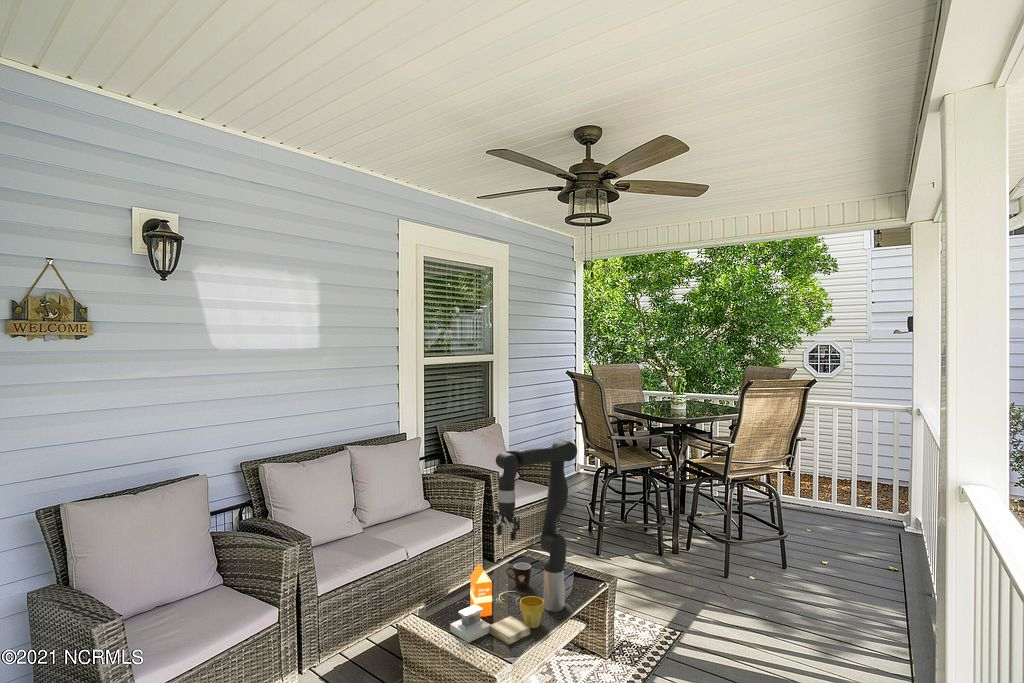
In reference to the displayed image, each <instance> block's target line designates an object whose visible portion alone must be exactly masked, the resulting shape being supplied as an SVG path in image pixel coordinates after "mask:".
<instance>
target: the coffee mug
mask: <svg viewBox="0 0 1024 683" xmlns="http://www.w3.org/2000/svg"><path fill="white" fill-rule="evenodd" d="M509 570H512V572H513V573H514V577H513V576H511V575H510V574H509V573H508V571H509ZM531 572H532V565H531V564H530V563H527V562H517V563H515V564H513V568H512V567H508V568H506V571H505V573H506V575H507V576H508V577H509V578H510V579H512V580H513V581H514V582H515V588H516V589H518V590H527V589H529V586H530V581H531V580H530V579H531Z"/></svg>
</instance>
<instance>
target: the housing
mask: <svg viewBox="0 0 1024 683" xmlns="http://www.w3.org/2000/svg"><path fill="white" fill-rule="evenodd" d="M480 612H483V608H481V607H480V606H478V605H476V604H475V605H472V606H468V607H466V608H463V609H461V610H459V611H458V615H459V616H460V619H461V622H459V623H458V626H459V627H461V628H462V629H464V630H468V629H471V628H473V627H475V626H477V625H479V624H482V623H483V619H482V618H481V617H480Z"/></svg>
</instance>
